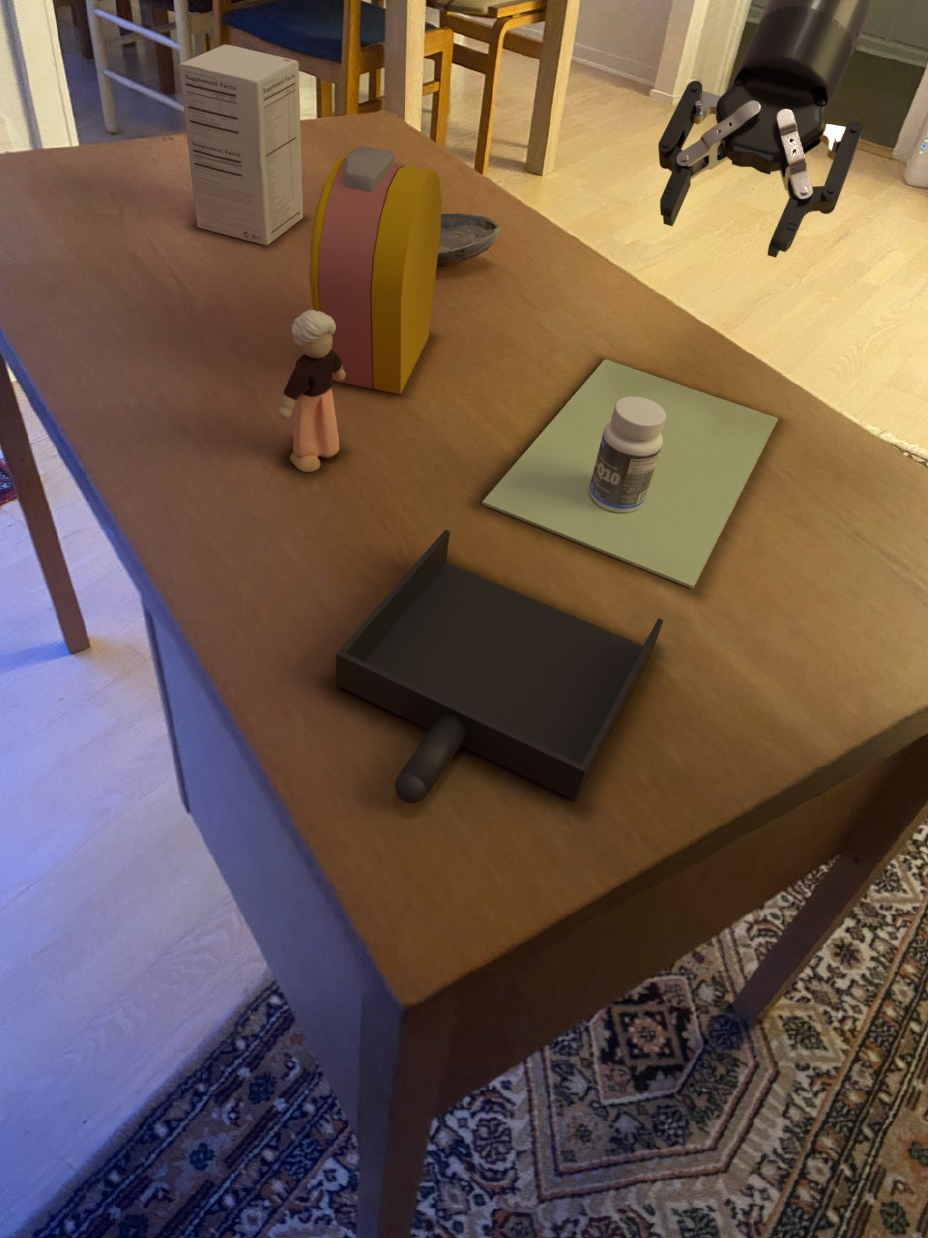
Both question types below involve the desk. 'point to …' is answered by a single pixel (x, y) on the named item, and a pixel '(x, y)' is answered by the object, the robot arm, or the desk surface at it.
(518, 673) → the dustpan
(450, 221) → the grey shallow oval dish
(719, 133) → the robot arm
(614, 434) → the pill bottle
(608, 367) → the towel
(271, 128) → the supplement box
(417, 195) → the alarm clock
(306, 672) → the desk surface
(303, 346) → the grandmother figurine
